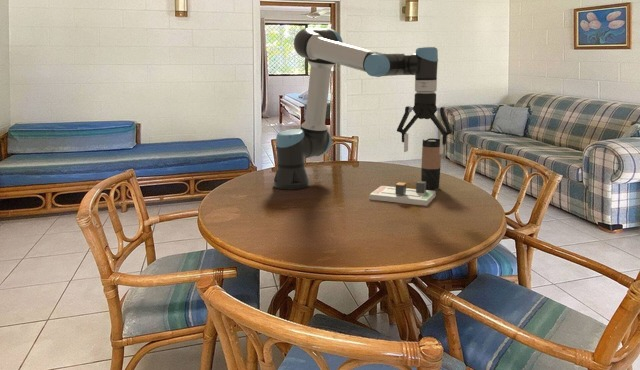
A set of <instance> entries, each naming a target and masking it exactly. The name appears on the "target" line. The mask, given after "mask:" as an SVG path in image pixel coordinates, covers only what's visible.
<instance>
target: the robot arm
mask: <svg viewBox="0 0 640 370" xmlns="http://www.w3.org/2000/svg"><path fill="white" fill-rule="evenodd" d="M293 47H294V51H295V52H296V53H297V55H298V56H300V57H302V58H303V59H307V63H308V64H309V66H310V70H309V81H308V90H307V91H308V92H307V99H306V100H307V101H306V108H305V109H306V111H305V119H304V120H305V121H303V123H302V124H301V125H300V128H290V129H286V130H282V131H280V132H278V133H277V134H276V137H275V138H276V139H275V140H276V141H275V146H276V147H275V148H276V171H275V174H274V175H275V176H274V178H273V187H274V188H276V189H279V190H289V191H290V190H300V189H305V188H309V186H310V179H309V175H308V173H307V170H306V167H305V166H306V165H305V159H309V158H313V157H319V156H322V155H324V154H326V153H327V152H329V150H330V148H331V145H332V136H331V133H330V132H329V131H328V129H329V127H328V126H327V125H326V118H327V117H326V116H327V115H326V114H327V108H328V107H327V106H328V98H329V90H330V82H331V73H332V68H333V67H334V66H336V64H337V65H340V66H343V67H347V68H351V69H354V70H359V71H362V72H365V73H367V75H368V76H370V77H375V78H380V77H388V76H389V77H392V76H414V79H415V80H414V91H415V93H414V102H413V103H414V104H413V106H410V105H407V106H405V109H404V114H403V115H402V118H401V120H400V123H399V125H397V128H396V132H397V133H400V134H401V143H403V153H407V152H408V151H409V133H408V131H409V130H410V128H411V127H412V126H413V125H414V124H415V122H416V121H417V120H418V119H419V120H431V121H432V122H433V124H434V125H435V126H436V128H437V129H438V130H439V132H440V133H441V135H440V136H439V139H440V153H439V154H441V155H443V154H444V146H445V145H446V144H447V143H448V141H447V140H448V136H449V135H451V134H452V133H453V130H452V127H451V124H450V122H449V119H448V116H447V114H446V108H445V106H442V107H441V106H439V107H437V93H436V92H437V89H438V88H437V86H438V66H439V65H438V62H439V58H438V57H439V56H438V55H439V54H438V53H439V50H438V48H437V47H435V46H425V47H424V46H420V47H419V46H418V47H417V48H416V49H415V52H414V53H382V52H378V51H374V50H370V49H366V48H364V47H363V48H362V47H359V46H354V45H350V44H347V43H344V41H343V38H342V37H341V35H340V33H339V32H338V31H336V30H335V29H331V28H318V27H316V28H315V27H314V28H313V27H306V28H302V29H300V30H299V31H298V32H297V33H296V34H295V36H294V39H293ZM412 111H413V113H414V115H413V116H412V118H411V119H410V121H409V122H408V123H407V119H408V117H409V116H410V113H412ZM437 112H438V113H439V114H440V117H441V119H442V122H443V124H442V123H441V122H440V120H439V119H438V117H437V116H436V113H437ZM406 123H407V124H406ZM405 124H406V125H405ZM443 125H444V126H445V127H444V126H443ZM404 126H405V127H404Z"/></svg>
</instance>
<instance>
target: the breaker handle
mask: <svg viewBox="0 0 640 370" xmlns="http://www.w3.org/2000/svg"><path fill="white" fill-rule="evenodd" d="M395 187H396V191H395V194H397V195H404V194H405V193H406V188H407V182H399V181H398V182H397V183H396V184H395Z"/></svg>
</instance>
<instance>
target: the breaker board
mask: <svg viewBox="0 0 640 370" xmlns="http://www.w3.org/2000/svg"><path fill="white" fill-rule="evenodd" d="M395 191H396V186H387V185H380V186H379V187H378V188H377V189H375V190H374V191H372V192H371V193H370V194H369V200H373V201H381V202H384V201H385V202H390V203H398V204H409V205H415V206H426V207H427V206H428V205H429V204H430V203H431V202H432V201H433V200H434V199H435V198H436V197H437V196H436V193H437V191H435V190H426V182H425V181H421V180H418V181H417V182H416V184H415V188H407V187H406V193H405V194H404V195H397V194H395Z"/></svg>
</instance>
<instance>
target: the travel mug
mask: <svg viewBox="0 0 640 370" xmlns="http://www.w3.org/2000/svg"><path fill="white" fill-rule="evenodd" d="M439 153H440V138H433V137H432V138H427V139H423V138H422V148H421V169H420V170H421V174H420V176H421V177H420V179H421V180H420V181H425V182H426V190H428V191H435V189H436V190H439V189H440V180H441V163H442V154H439ZM438 188H439V189H438Z"/></svg>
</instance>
